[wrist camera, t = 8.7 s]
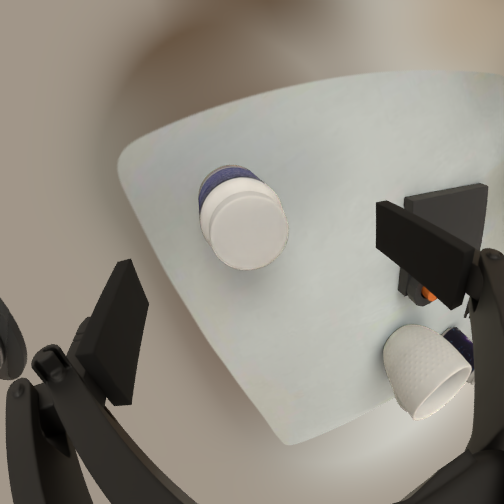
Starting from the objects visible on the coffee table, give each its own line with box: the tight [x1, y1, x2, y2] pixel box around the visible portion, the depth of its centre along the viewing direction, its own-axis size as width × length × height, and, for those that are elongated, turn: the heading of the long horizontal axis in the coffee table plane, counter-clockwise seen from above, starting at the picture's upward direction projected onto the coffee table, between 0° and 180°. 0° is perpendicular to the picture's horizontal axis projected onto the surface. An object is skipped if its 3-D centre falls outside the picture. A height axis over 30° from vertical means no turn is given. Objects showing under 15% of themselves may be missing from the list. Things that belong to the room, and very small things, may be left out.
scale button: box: [421, 286, 437, 301], centre depth 30 cm, size 3×3×2 cm
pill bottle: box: [199, 165, 289, 270], centre depth 21 cm, size 6×6×10 cm
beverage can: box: [441, 327, 475, 385], centre depth 38 cm, size 6×6×12 cm
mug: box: [383, 324, 472, 421], centre depth 34 cm, size 15×11×13 cm
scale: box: [398, 183, 488, 306], centre depth 31 cm, size 17×14×4 cm
